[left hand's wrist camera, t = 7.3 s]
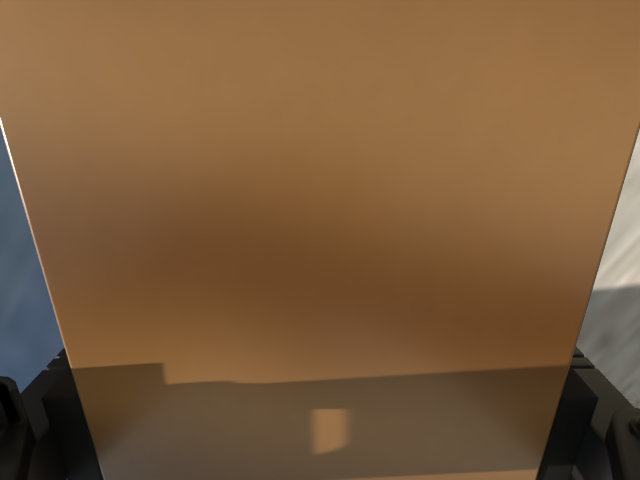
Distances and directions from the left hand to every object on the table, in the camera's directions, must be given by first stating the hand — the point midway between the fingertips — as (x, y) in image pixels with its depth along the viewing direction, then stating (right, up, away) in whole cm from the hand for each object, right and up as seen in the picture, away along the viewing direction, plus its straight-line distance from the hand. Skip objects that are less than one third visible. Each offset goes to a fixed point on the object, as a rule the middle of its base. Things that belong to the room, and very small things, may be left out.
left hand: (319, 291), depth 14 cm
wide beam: (0, +21, -8) cm, 22 cm away
